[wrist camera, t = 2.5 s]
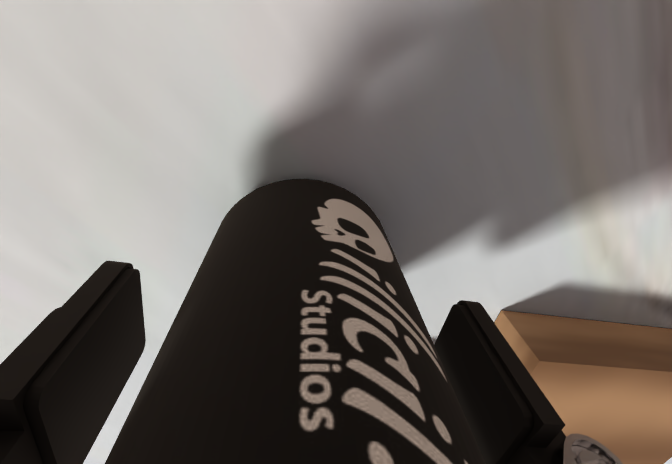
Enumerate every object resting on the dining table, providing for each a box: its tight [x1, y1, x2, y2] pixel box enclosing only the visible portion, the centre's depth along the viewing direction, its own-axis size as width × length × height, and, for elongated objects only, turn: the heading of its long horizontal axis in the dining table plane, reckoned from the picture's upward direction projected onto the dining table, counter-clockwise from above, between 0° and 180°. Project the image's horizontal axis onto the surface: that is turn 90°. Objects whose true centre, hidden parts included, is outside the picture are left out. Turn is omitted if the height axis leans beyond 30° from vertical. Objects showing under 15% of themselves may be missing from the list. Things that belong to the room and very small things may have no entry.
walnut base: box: [494, 310, 672, 464], centre depth 18 cm, size 12×12×3 cm
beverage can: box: [105, 179, 486, 464], centre depth 8 cm, size 7×7×12 cm
